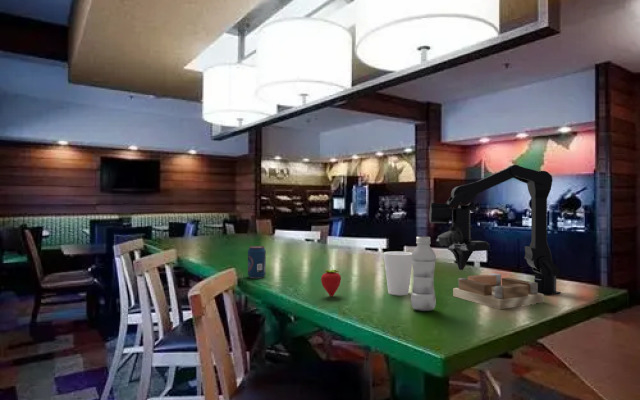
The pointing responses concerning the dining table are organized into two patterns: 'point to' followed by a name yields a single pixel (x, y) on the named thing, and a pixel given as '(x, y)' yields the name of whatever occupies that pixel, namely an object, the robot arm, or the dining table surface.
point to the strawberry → (331, 281)
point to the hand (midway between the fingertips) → (461, 269)
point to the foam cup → (398, 272)
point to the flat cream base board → (499, 293)
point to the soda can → (256, 262)
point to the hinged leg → (487, 278)
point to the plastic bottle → (423, 275)
